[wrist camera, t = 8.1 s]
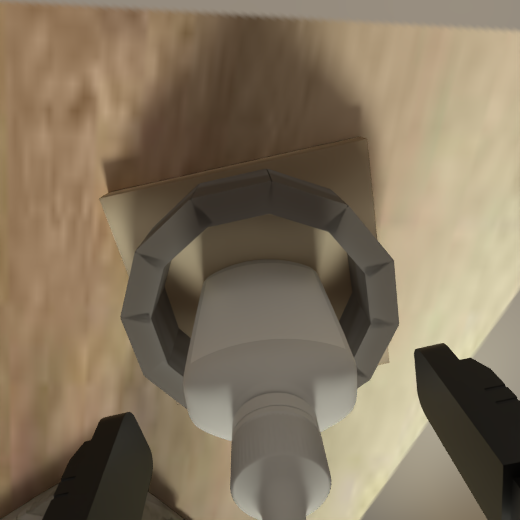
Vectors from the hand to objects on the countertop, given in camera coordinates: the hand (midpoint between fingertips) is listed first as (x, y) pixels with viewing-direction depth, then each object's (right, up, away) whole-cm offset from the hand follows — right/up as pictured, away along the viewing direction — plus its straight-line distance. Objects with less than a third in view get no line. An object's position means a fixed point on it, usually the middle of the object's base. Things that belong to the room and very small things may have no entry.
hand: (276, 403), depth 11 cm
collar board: (0, +3, +9) cm, 10 cm away
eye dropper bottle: (0, +3, +8) cm, 9 cm away
